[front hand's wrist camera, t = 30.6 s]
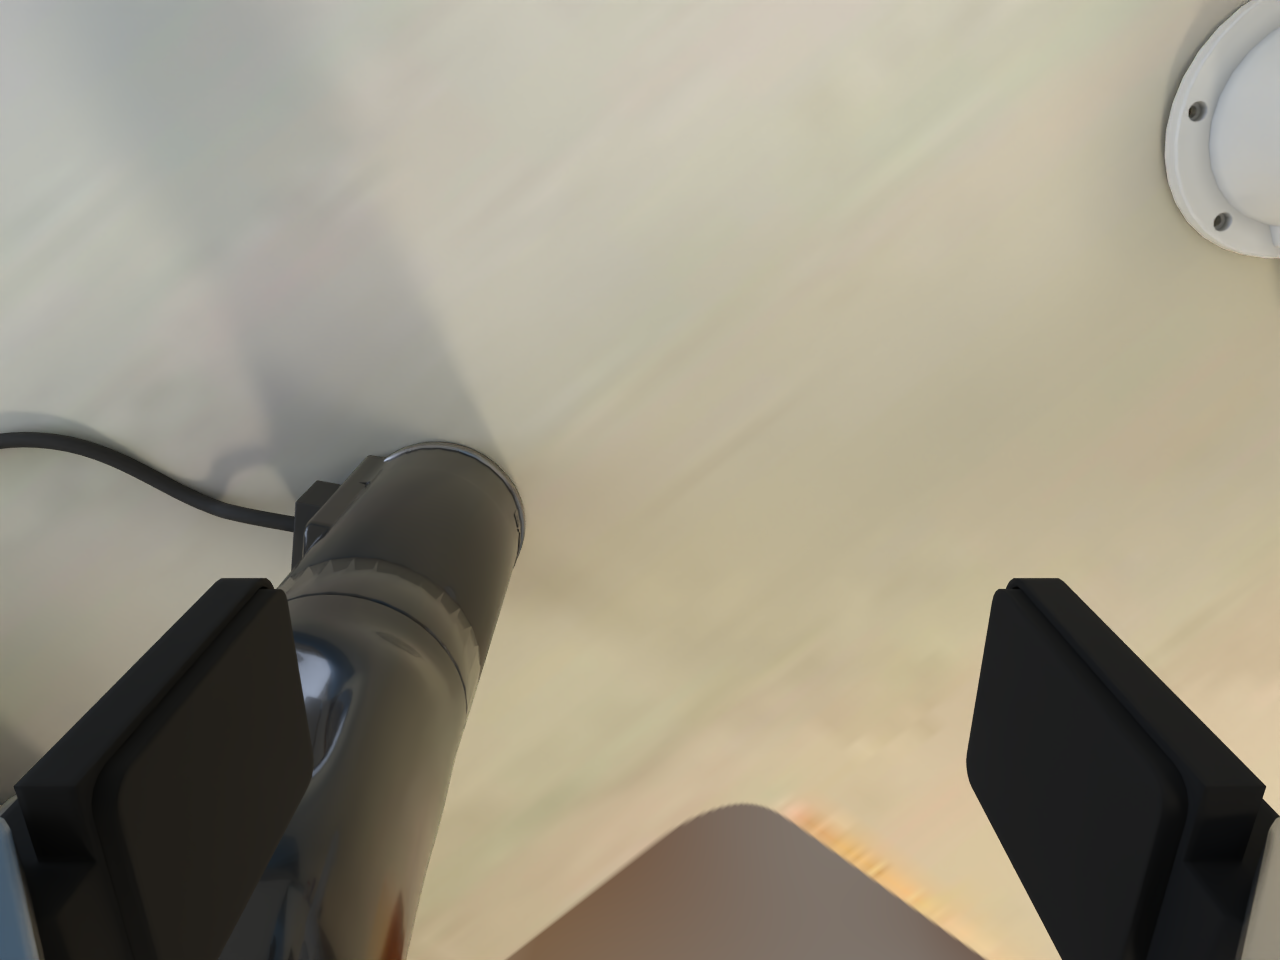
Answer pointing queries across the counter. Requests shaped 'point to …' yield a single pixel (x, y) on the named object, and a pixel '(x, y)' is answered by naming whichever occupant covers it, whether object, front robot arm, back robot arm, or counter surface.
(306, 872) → the back robot arm
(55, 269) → the counter surface
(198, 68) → the counter surface
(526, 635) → the counter surface
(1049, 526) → the counter surface
